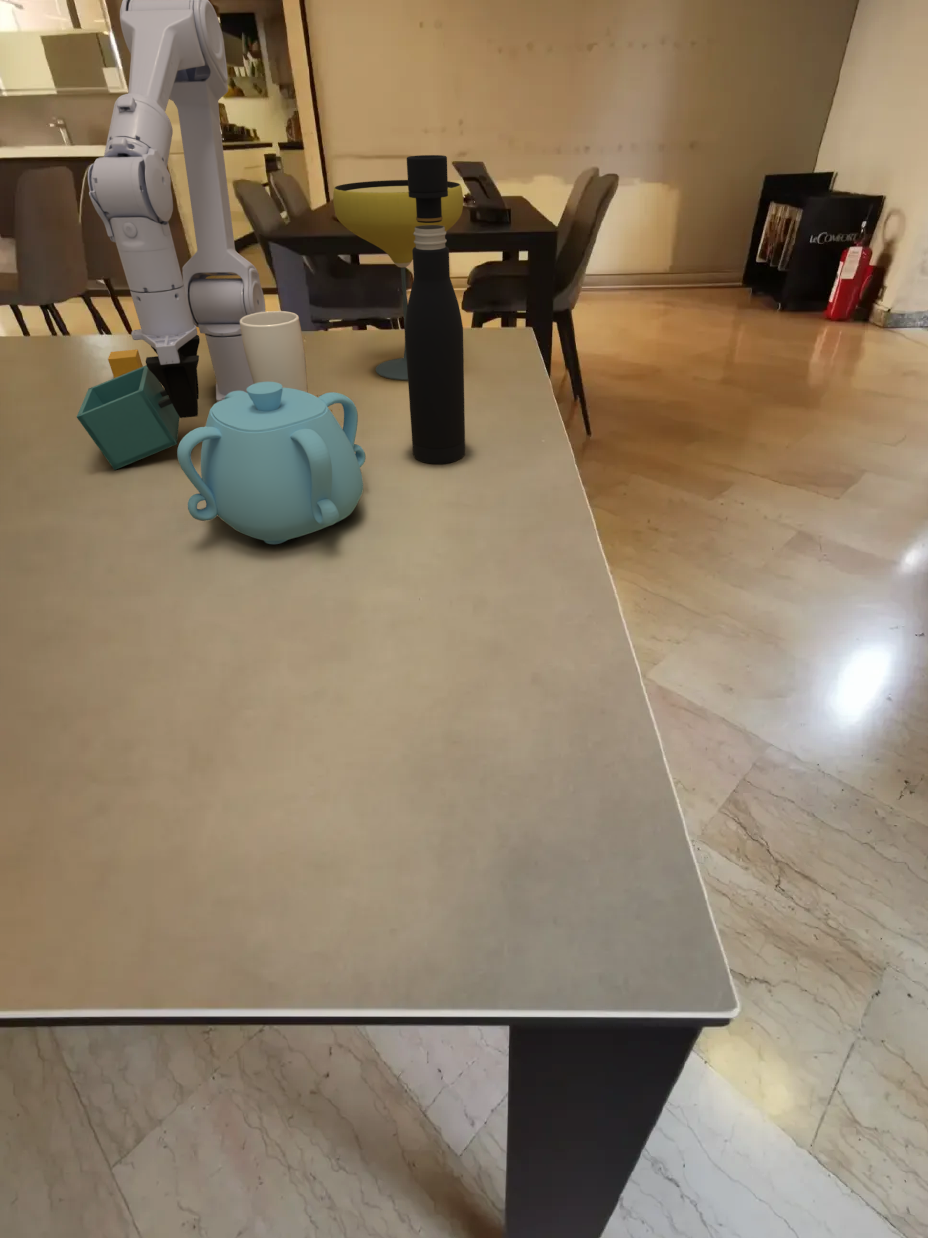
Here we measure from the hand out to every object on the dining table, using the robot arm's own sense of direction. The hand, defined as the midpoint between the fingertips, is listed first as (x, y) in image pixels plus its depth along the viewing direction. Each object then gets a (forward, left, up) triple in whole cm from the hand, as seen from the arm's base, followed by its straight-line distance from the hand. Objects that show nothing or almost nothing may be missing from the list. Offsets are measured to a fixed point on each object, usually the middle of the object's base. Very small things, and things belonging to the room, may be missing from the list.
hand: (189, 407), depth 83 cm
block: (+11, -30, -5) cm, 32 cm away
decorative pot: (-9, +23, -5) cm, 25 cm away
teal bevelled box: (+4, 0, -3) cm, 5 cm away
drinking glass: (-11, +4, -5) cm, 13 cm away
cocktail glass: (-32, -20, -5) cm, 38 cm away
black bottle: (-28, +13, -5) cm, 32 cm away
